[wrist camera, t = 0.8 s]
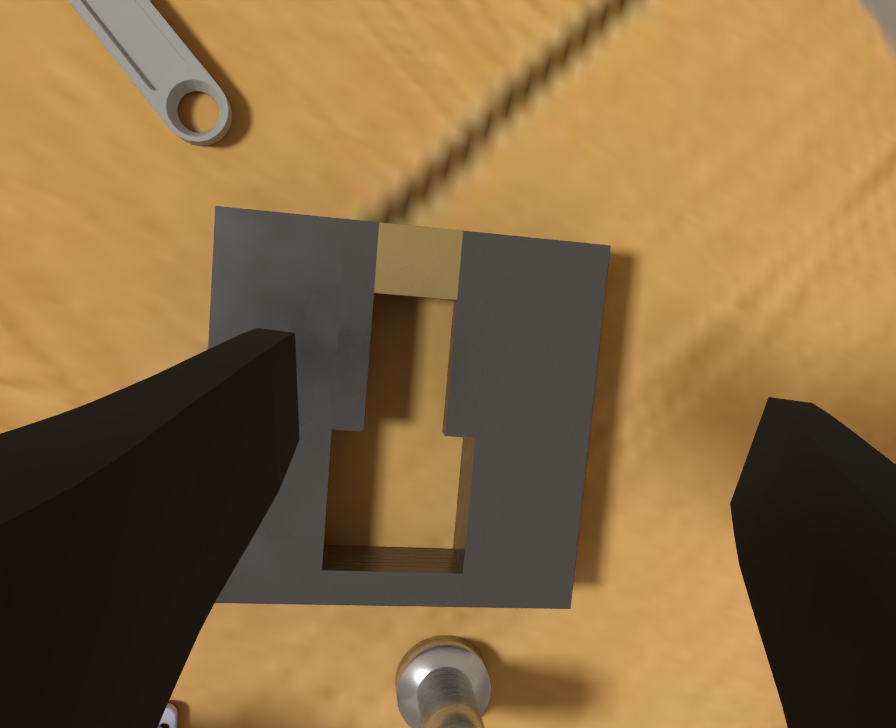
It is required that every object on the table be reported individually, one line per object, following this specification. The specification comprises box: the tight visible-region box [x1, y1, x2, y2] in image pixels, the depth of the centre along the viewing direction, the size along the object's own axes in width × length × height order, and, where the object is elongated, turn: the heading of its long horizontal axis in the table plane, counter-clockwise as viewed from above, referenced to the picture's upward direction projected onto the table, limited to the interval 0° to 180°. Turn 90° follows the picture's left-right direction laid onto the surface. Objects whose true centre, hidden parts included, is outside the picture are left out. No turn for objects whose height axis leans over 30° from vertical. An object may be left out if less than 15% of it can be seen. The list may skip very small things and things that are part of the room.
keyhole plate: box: [208, 206, 610, 609], centre depth 30 cm, size 16×16×3 cm
